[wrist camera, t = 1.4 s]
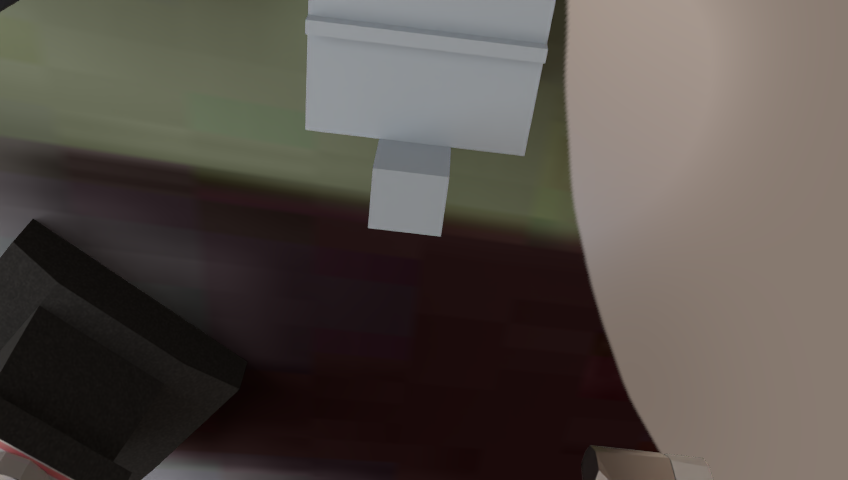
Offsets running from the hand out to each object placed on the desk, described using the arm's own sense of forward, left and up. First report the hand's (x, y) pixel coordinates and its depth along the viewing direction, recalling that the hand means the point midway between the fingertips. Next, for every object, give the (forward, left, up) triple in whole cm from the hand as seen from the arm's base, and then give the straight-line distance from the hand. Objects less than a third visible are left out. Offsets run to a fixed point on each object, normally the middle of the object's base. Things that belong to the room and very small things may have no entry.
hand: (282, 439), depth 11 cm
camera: (+30, -19, -31) cm, 48 cm away
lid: (+2, +1, -25) cm, 25 cm away
